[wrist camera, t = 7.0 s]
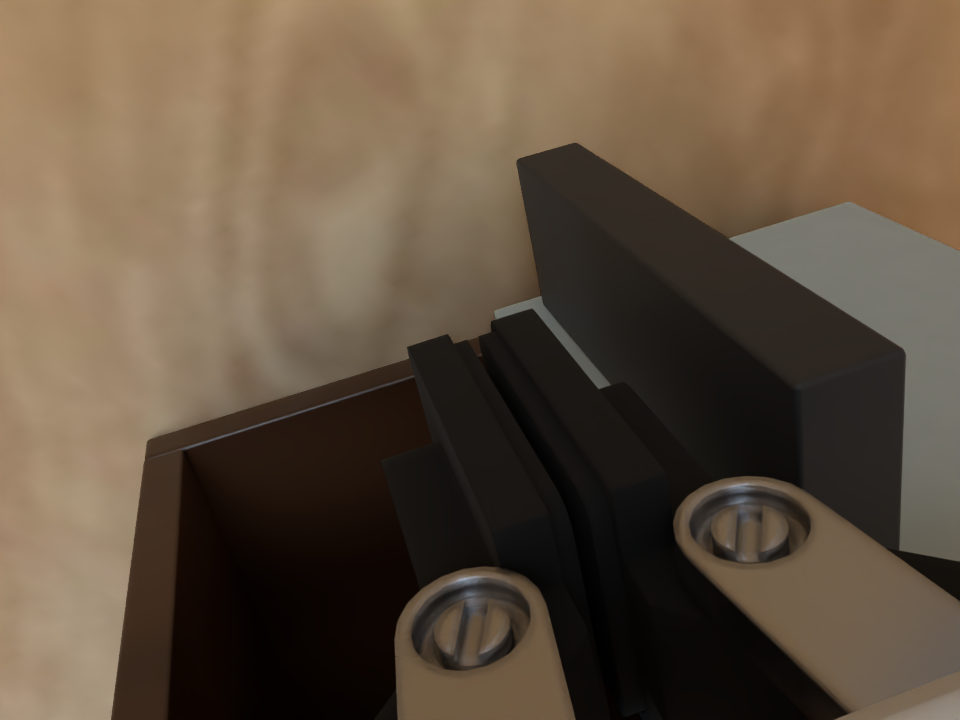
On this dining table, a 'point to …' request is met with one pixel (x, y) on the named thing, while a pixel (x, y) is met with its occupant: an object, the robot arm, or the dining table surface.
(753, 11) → the dining table surface
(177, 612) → the cabinet
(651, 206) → the door
